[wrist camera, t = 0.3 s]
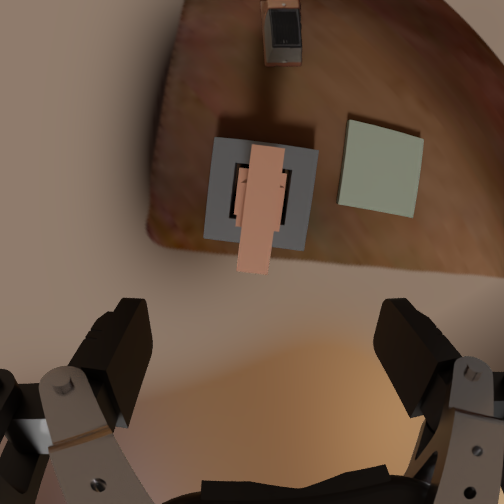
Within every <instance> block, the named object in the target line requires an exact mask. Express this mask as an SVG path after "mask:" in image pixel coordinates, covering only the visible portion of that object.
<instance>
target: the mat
mask: <svg viewBox="0 0 504 504" xmlns="http://www.w3.org/2000/svg"><path fill="white" fill-rule="evenodd" d="M423 143H424V139H421V138H418V137H415V136H411V135H408V134H405V133H401V132H398V131H394V130H390V129H387V128H383V127H379V126H375V125H371V124H367V123H363V122H358V121H354V120H348V121H347V128H346V137H345V145H344V153H343V161H342V168H341V176H340V183H339V189H338V196H337V202H336V203H337V204H341V205H346V206H352V207H358V208H364V209H369V210H375V211H380V212H385V213H391V214H396V215H401V216H406V217H411V218H413V214H414V209H415V203H416V197H417V191H418V184H419V177H420V169H421V161H422V153H423Z"/></svg>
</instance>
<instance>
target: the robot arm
mask: <svg viewBox="0 0 504 504" xmlns="http://www.w3.org/2000/svg"><path fill="white" fill-rule="evenodd" d="M373 345H374V350H375V353H376V355H377V357H378V359H379V360H380V362H381V364H382V366H383V368H384V369H385V371H386V373H387V375H388V377H389V379H390V380H391V382H392V384H393V386H394V388H395V390H396V392H397V394H398V396H399V397H400V399H401V401H402V403H403V405H404V407H405V409H406V411H407V413H408V415H409V417H410V418H413V417H417V416H421V415H424V417H425V420H424V422H423V423H422V426H421V429H420V432H419V436H418V439H417V442H416V446H415V449H414V452H413V455H412V458H411V460H410V463H409V466H408V468H407V470H406V472H405V474H404V476H399V475H389V473H388V470H387V467H386V465H385V464H384V465H380V466H376V467H371V468H367V469H361V470H357V471H351V472H345V473H343V474H340V475H338V476H335V477H333V478H330V479H327V480H325V481H322V482H320V483H316V484H314V485H311V486H308V487H305V488H299V489H297V488H288V487H280V486H274V485H267V484H261V483H255V482H250V481H247V482H246V481H244V482H236V481H204V480H202V484H201V491H200V492H194V493H189V494H185V495H182V496H179V497H176V498H173V499H171V500H169V501H166V502H164V503H162V504H498V499H499V492H500V486H501V488H502V490H503V493H504V372H492V370H491V369H490V367H489V366H488V365H487V364H486V363H485V362H483V361H482V360H480V359H478V358H475V357H469V356H465V357H462V356H461V355H460V353H459V352H458V351H457V350H456V349H455V347H454V346H453V345H452V344H451V343H450V341H449V340H448V339H447V338H446V337H445V336H444V335H442V332H441V331H440V330H439V329H438V328H436V325H435V324H434V323H433V322H432V321H431V319H430V318H429V317H427V316H425V315H424V314H422V313H420V312H419V311H417V310H416V309H415V308H414V306H413V305H412V304H411V303H410V302H409V301H408V300H407V299H406V298H394V299H385V300H384V302H383V303H382V307H381V311H380V315H379V319H378V322H377V326H376V331H375V334H374V339H373ZM152 348H153V340H152V333H151V328H150V321H149V315H148V308H147V303H146V301H145V299H139V298H122V299H121V300H120V302H119V304H118V305H117V307H116V308H115V310H114V312H109V311H108V312H106V313H105V314H104V315H102V316H101V317H100V318H98V319H97V320H96V322H95V323H94V325H93V326H92V328H91V331H89V332H88V334H87V335H86V339H84V340H83V342H82V343H81V345H80V346H79V348H78V350H77V351H76V353H75V354H74V356H73V358H72V359H71V361H70V363H69V364H68V366H61V367H57V368H54V369H52V370H50V371H49V372H47V373H46V374H45V375H44V376H43V377H42V379H41V381H40V383H34V384H18V383H17V381H16V380H15V378H14V376H13V374H12V373H11V372H10V371H8V370H5V369H0V443H1V441H2V439H3V437H4V435H5V436H6V438H7V439H8V441H7V443H6V446H5V448H4V450H3V452H2V454H1V457H0V504H35V500H36V498H37V494H38V491H39V488H40V484H41V481H42V478H43V475H44V471H45V468H46V466H47V463H48V460H49V457H50V459H51V462H52V465H53V468H54V471H55V474H56V477H57V479H58V482H59V485H60V488H61V490H62V493H63V495H64V498H65V500H66V503H67V504H154V502H153V501H152V499H151V498H150V496H149V495H148V493H147V492H146V490H145V489H144V487H143V485H142V484H141V482H140V481H139V479H138V478H137V476H136V475H135V473H134V471H133V469H132V468H131V466H130V464H129V463H128V461H127V459H126V457H125V456H124V454H123V452H122V450H121V448H120V447H119V445H118V443H117V441H116V439H115V437H114V435H113V432H114V429H115V426H116V427H123V428H128V426H129V423H130V420H131V416H132V413H133V410H134V407H135V404H136V400H137V397H138V394H139V391H140V388H141V385H142V381H143V379H144V376H145V373H146V370H147V367H148V364H149V361H150V358H151V354H152Z"/></svg>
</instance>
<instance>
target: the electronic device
mask: <svg viewBox="0 0 504 504" xmlns="http://www.w3.org/2000/svg"><path fill="white" fill-rule="evenodd" d="M260 7H261V18H262V34H263V46H264V49H263V51H264V60H265V66H266V67H275V66H301V65H302V39H301V23H300V21H301V13H300V9H301V4H300V1H299V0H267V1H260Z"/></svg>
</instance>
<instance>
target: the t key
mask: <svg viewBox="0 0 504 504" xmlns="http://www.w3.org/2000/svg"><path fill="white" fill-rule="evenodd" d="M284 153H285V148H278V147H271V146H263V145H255V144H252V148H251V155H250V163H249V169H247V168H239V176H238V184H237V192H236V200H235V209H234V214H236V215H237V217H236V226H238V227H242V228H241V236H240V245H239V253H238V262H237V271H240V272H248V273H255V274H263V275H267V274H268V268H269V261H270V255H271V248H272V241H273V234H274V231H277V232H279V229H280V222H281V215H282V208H283V201H284V194H285V185H286V178H287V174H285V173H282V168H283V161H284Z"/></svg>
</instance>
